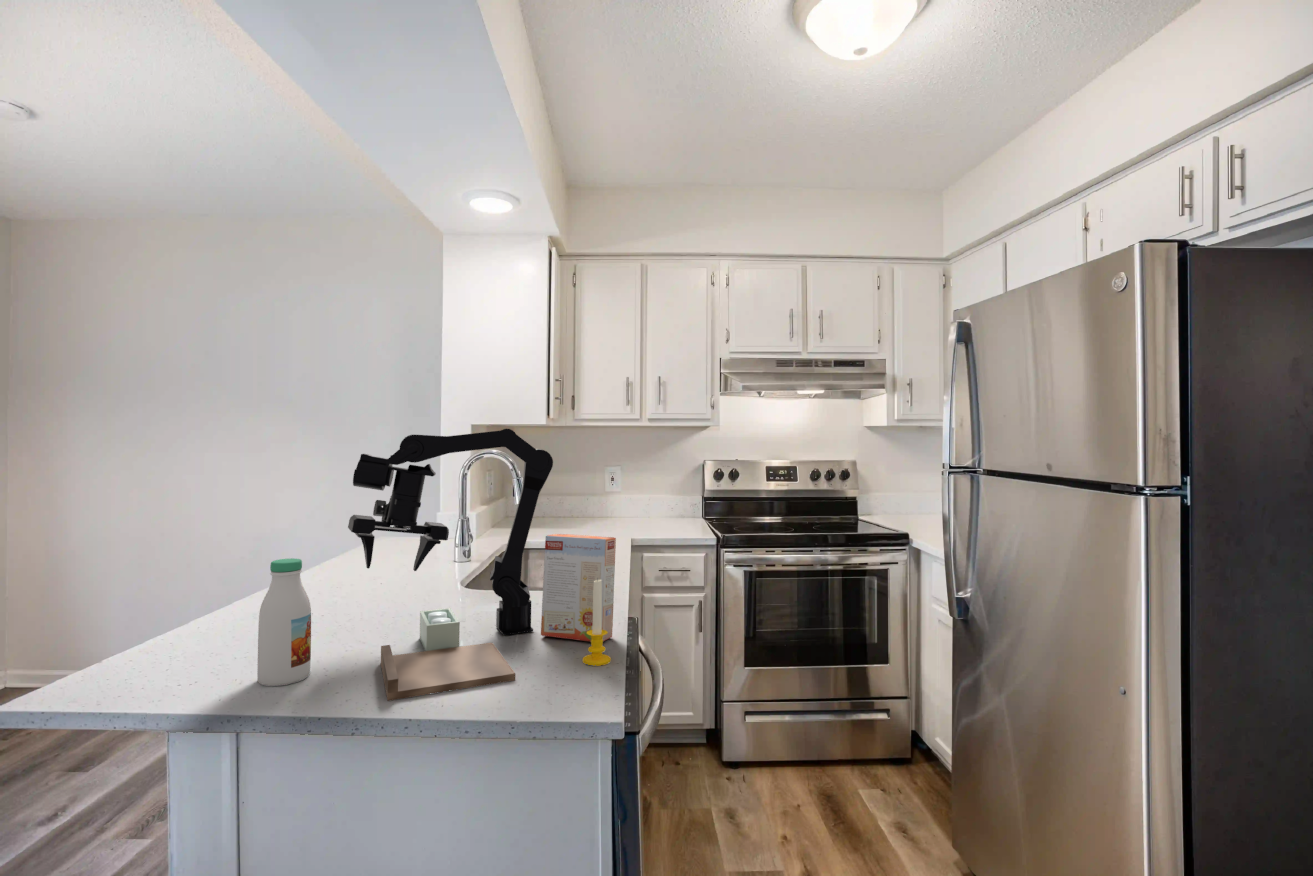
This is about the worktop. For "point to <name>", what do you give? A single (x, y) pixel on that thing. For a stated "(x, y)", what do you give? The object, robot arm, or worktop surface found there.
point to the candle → (597, 630)
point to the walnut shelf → (442, 670)
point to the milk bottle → (284, 627)
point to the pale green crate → (439, 629)
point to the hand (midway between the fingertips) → (391, 569)
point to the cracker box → (576, 584)
